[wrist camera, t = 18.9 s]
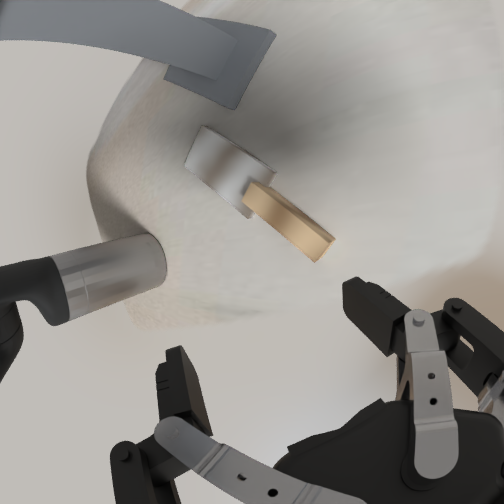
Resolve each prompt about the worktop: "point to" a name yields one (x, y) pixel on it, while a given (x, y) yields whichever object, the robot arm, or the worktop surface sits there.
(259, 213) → the trowel
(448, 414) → the robot arm
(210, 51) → the stand
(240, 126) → the worktop surface
